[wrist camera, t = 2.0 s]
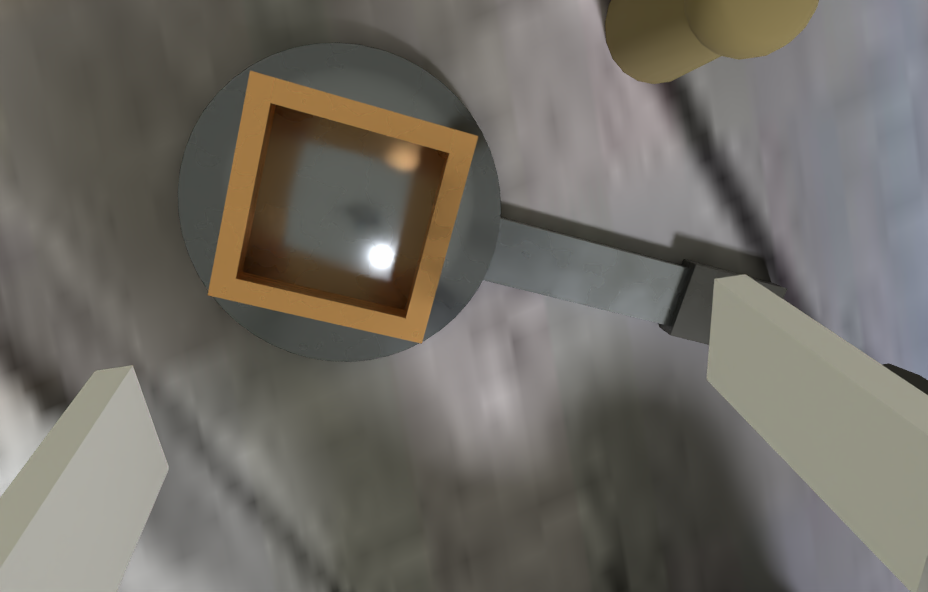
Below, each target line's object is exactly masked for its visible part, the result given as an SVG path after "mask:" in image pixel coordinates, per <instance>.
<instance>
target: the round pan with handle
mask: <svg viewBox="0 0 928 592" xmlns="http://www.w3.org/2000/svg"><path fill="white" fill-rule="evenodd" d="M178 210H179V218H180V224H181V230H182V235H183V238H184V241H185V244H186V248H187V251H188V254H189V256H190V259H191V261H192V263H193V265H194V267H195V269H196V271H197V274H198V275H199V277H200V278H201V280H202V282H203V283H204V285H205V286H206V288H207V290H208V295H209V296H213V297H214V299H215V300H216V301H217V302H218V303H219V305H220V306H221V307H222V308H223V309H224V310H225V311H226V312H227V313H228V314H229V315H230V316H231V317H232V318H233V319H234V320H235V321H237V322H238V323H239V324H240V325H242V326H243V327H244V328H246V329H247V330H248V331H250V332H251V333H253V334H254V335H256V336H257V337H259V338H261V339H263V340H264V341H266V342H268V343H270V344H272V345H274V346H276V347H279V348H281V349H283V350H286V351H288V352H291V353H294V354H298V355H301V356H305V357H308V358H314V359H320V360H327V361H346V362H351V361H362V360H371V359H376V358H380V357H385V356H389V355H392V354H395V353H398V352H401V351H404V350H406V349H409V348H411V347H413V346H415V345H417V344H419V343H421V344H422V342H423V341H425V340H426V339H428V338H429V337H431V336H432V335H434V334H435V333H437V332H438V331H440V330H441V329H442V328H443V327H445V326H446V325H447V324H448V323H449V322H450V321H452V320H453V319H454V318H455V317H456V316H457V315H458V314H459V313H460V311H461V310H462V309H463V308H464V307H465V306H466V305H467V304H468V302H469V301H470V299H471V298H472V297H473V295H474V294H475V292H476V291H477V289H478V288H479V286H480V284H481V282H482V280H485V281H489V282H493V283H497V284H501V285H505V286H509V287H513V288H517V289H521V290H525V291H529V292H533V293H538V294H542V295H546V296H550V297H554V298H558V299H562V300H566V301H570V302H574V303H578V304H582V305H586V306H590V307H594V308H598V309H602V310H606V311H610V312H614V313H618V314H622V315H626V316H630V317H635V318H639V319H643V320H647V321H651V322H655V323H659V324H660V328H661V329H663V330H664V331H665V332H667V333H668V334H669V335H672V336H676V337H680V338H684V339H688V340H692V341H696V342H700V343H704V344H708V345H709V342H710V329H711V316H712V303H713V290H714V279H717V278H723V277H730V276H737V275H742V274H738V273H734V272H731V271H727V270H723V269H720V268H716V267H712V266H708V265H705V264H701V263H697V262H693V261H690V260H686V259H684V260H683V263H682V265H679V264H675V263H671V262H667V261H664V260H660V259H656V258H652V257H649V256H645V255H641V254H637V253H634V252H630V251H626V250H622V249H619V248H615V247H611V246H607V245H604V244H600V243H596V242H592V241H589V240H585V239H581V238H577V237H574V236H570V235H566V234H562V233H559V232H555V231H551V230H547V229H544V228H540V227H536V226H532V225H529V224H525V223H521V222H517V221H514V220H510V219H506V218H502V217H500V216H501V203H500V188H499V182H498V177H497V171H496V168H495V164H494V161H493V158H492V155H491V151H490V149H489V147H488V145H487V142H486V140H485V138H484V136H483V134H482V131H481V130H480V128H479V127H478V125H477V123H476V122H475V120H474V119H473V117H472V115H471V114H470V112H469V111H468V110H467V109H466V108H465V106H464V105H463V104H462V103H461V101H460V100H459V99H458V98H457V97H456V96H455V95H454V94H453V93H452V92H451V91H450V90H449V89H448V88H447V87H446V86H445V85H444V84H443V83H442V82H441V81H439V80H438V79H436V78H435V77H434V76H432V75H431V74H429V73H428V72H427V71H425V70H424V69H423V68H421V67H419V66H417V65H415V64H413V63H411V62H410V61H408V60H406V59H404V58H402V57H399V56H397V55H394V54H391V53H389V52H386V51H383V50H380V49H376V48H371V47H367V46H363V45H356V44H345V43H322V44H311V45H306V46H301V47H295V48H291V49H288V50H285V51H282V52H279V53H276V54H273V55H271V56H269V57H267V58H265V59H263V60H261V61H259V62H257V63H255V64H253V65H251V66H250V67H249V68H247V69H246V70H244V71H243V72H241V73H240V74H239V75H237V76H236V77H234V78H233V79H232V80H231V81H230V82H229V83H228V84H227V85H226V86H225V87H224V88H223V89H221V90H220V91H219V92H218V93H217V95H216V96H215V97H214V98H213V100H212V101H211V102H210V103H209V105H208V106H207V107H206V108H205V110H204V111H203V113H202V115H201V117H200V118H199V120H198V122H197V123H196V125H195V127H194V129H193V131H192V133H191V136H190V138H189V141H188V143H187V146H186V148H185V152H184V156H183V160H182V164H181V168H180V175H179V185H178ZM750 278H752V279H753V280H755V281H756V282H758V283H759V284H761V285H762V286H764V287H765V288H767V289H768V290H770V291H771V292H773V293H774V294H776V295H777V296H779V297H780V298H782V299H783V298H784V295H785V293H786V290H787V289H786V288H784V287H781V286H779V285H777V284H774V283H772V282H768V281H764V280H760V279H757V278H753V277H750Z"/></svg>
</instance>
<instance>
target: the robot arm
mask: <svg viewBox="0 0 928 592" xmlns="http://www.w3.org/2000/svg"><path fill="white" fill-rule="evenodd" d="M707 380H708V381H709V382H710V383H711V385H712V386H713V387H714V388H715V389H716V390H717V391H718V392H719V393H720V394H721V395H722V396H723V397H724V398H725V399H726V400H727V401H728V402H729V403H730V404H731V405H732V406H733V407H734V408H735V409H736V411H737V412H738V413H739V414H740V415H741V416H742V417H743V418H744V419H745V420H746V421H747V422H748V423H749V424H750V425H751V426H752V427H753V428H754V429H755V430H756V431H757V432H758V433H759V434H760V435H761V436H762V438H763V439H764V440H765V441H766V442H767V443H768V444H769V445H770V446H771V447H772V448H773V449H774V450H775V451H776V452H777V453H778V454H779V455H780V456H781V457H782V458H783V459H784V460H785V461H786V462H787V464H788V465H789V466H790V467H791V468H792V469H793V470H794V471H795V472H796V473H797V474H798V475H799V476H800V477H801V478H802V479H803V480H804V481H805V482H806V483H807V484H808V485H809V486H810V487H811V488H812V490H813V491H814V492H815V493H816V494H817V495H818V496H819V497H820V498H821V499H822V500H823V501H824V502H825V503H826V504H827V505H828V506H829V507H830V508H831V509H832V510H833V511H834V512H835V513H836V514H837V515H838V517H839V518H840V519H841V520H842V521H843V522H844V523H845V524H846V525H847V526H848V527H849V528H850V529H851V530H852V531H853V532H854V533H855V534H856V535H857V536H858V537H859V538H860V539H861V540H862V541H863V543H864V544H865V545H866V546H867V547H868V548H869V549H870V550H871V551H872V552H873V553H874V554H875V555H876V556H877V557H878V558H879V559H880V560H881V561H882V562H883V563H884V564H885V565H886V566H887V567H888V569H889V570H890V571H891V572H892V573H893V574H894V575H895V576H896V577H897V578H898V579H899V580H900V581H901V582H902V583H903V584H904V585H905V586H906V587H907V588H908V589H909V590H910V591H911V592H928V380H926V379H925V378H923V377H922V376H920V375H917V374H915V373H912V372H910V371H907V370H904V369H902V368H899V367H897V366H894V365H891V364H883V365H881V364H880V363H878V362H877V361H875V360H874V359H872V358H871V357H869V356H868V355H866V354H865V353H863V352H862V351H860V350H859V349H857V348H856V347H854V346H853V345H851V344H850V343H848V342H847V341H845V340H844V339H842V338H841V337H839V336H838V335H836V334H835V333H833V332H832V331H830V330H829V329H827V328H826V327H824V326H823V325H821V324H819V323H818V322H816V321H815V320H813V319H812V318H810V317H809V316H807V315H806V314H804V313H803V312H801V311H800V310H798V309H797V308H795V307H794V306H792V305H791V304H789V303H788V302H786V301H785V300H783V299H782V298H780V297H779V296H777V295H776V294H774V293H773V292H771V291H770V290H768V289H767V288H765V287H764V286H762V285H761V284H759V283H758V282H756V281H755V280H753V279H752V278H750V277H749V276H747V275H746V274H743V275H737V276H730V277H723V278H717V279H714V290H713V303H712V316H711V329H710V342H709V355H708V368H707ZM168 469H169V467H168V464H167V461H166V458H165V455H164V453H163V450H162V447H161V444H160V441H159V438H158V436H157V433H156V430H155V427H154V424H153V421H152V419H151V416H150V413H149V410H148V407H147V404H146V402H145V399H144V396H143V393H142V390H141V387H140V385H139V382H138V379H137V376H136V373H135V370H134V368H133V365H131V366H125V367H118V368H111V369H105V370H98V371H95V372H94V373H93V375H92V376H91V377H90V379H89V380H88V381H87V383H86V384H85V385H84V387H83V388H82V389H81V391H80V392H79V393H78V395H77V396H76V397H75V399H74V400H73V401H72V403H71V404H70V405H69V407H68V408H67V409H66V411H65V412H64V413H63V415H62V416H61V417H60V419H59V420H58V421H57V423H56V424H55V425H54V427H53V428H52V429H51V431H50V432H49V433H48V435H47V436H46V437H45V439H44V440H43V441H42V443H41V444H40V445H39V447H38V448H37V449H36V451H35V452H34V453H33V455H32V456H31V457H30V459H29V460H28V461H27V463H26V464H25V465H24V467H23V468H22V469H21V471H20V472H19V473H18V475H17V476H16V477H15V479H14V480H13V481H12V483H11V484H10V486H9V487H8V488H7V490H6V491H5V492H4V494H3V495H2V496H1V498H0V592H117V590H118V588H119V585H120V583H121V581H122V578H123V576H124V573H125V571H126V569H127V566H128V564H129V562H130V559H131V557H132V555H133V552H134V550H135V547H136V545H137V543H138V540H139V538H140V536H141V533H142V531H143V529H144V526H145V524H146V521H147V519H148V517H149V514H150V512H151V510H152V507H153V505H154V503H155V500H156V498H157V495H158V493H159V491H160V488H161V486H162V484H163V481H164V479H165V476H166V474H167V472H168Z"/></svg>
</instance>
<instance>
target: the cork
mask: <svg viewBox="0 0 928 592" xmlns="http://www.w3.org/2000/svg"><path fill="white" fill-rule="evenodd" d="M818 2H819V0H611V2H610V4H609V7H608V11H607V16H606V21H605V31H606V43H607V45H608V48H609V50H610V53H611V55H612V58H613V60H614V61H615V62H616V63H617V65H618V66H619V67H620V68H621V70H622V71H623V72H624V73H626V74H628V75H629V76H631V77H632V78H634V79H636V80H637V81H641V82H646V83H651V84H657V83H664V82H670V81H672V80H674V79H676V78H678V77H680V76H682V75H684V74H686V73H688V72H690V71H692V70H694V69H696V68H698V67H700V66H702V65H704V64H706V63H708V62H710V61H712V60H714V59H716V58H718V57H720V56H725V57H730V58H734V59H746V58H753V57H760V56H766V55H768V54H770V53H772V52H774V51H776V50H778V49H780V48H782V47H784V46H785V45H787V44H788V43H790V42H791V41H792V40H793V39H794V38H795V37H796V36H797V35H798V34H799V33H800V32H801V31H802V30H803V29H804V28H805V27H806V25H807V24H808V22H809V20H810V19H811V17H812V15H813V14H814V12H815V10H816V8H817V5H818Z"/></svg>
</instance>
